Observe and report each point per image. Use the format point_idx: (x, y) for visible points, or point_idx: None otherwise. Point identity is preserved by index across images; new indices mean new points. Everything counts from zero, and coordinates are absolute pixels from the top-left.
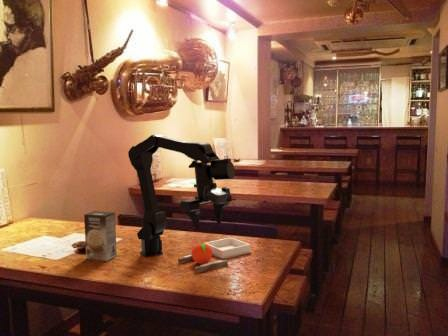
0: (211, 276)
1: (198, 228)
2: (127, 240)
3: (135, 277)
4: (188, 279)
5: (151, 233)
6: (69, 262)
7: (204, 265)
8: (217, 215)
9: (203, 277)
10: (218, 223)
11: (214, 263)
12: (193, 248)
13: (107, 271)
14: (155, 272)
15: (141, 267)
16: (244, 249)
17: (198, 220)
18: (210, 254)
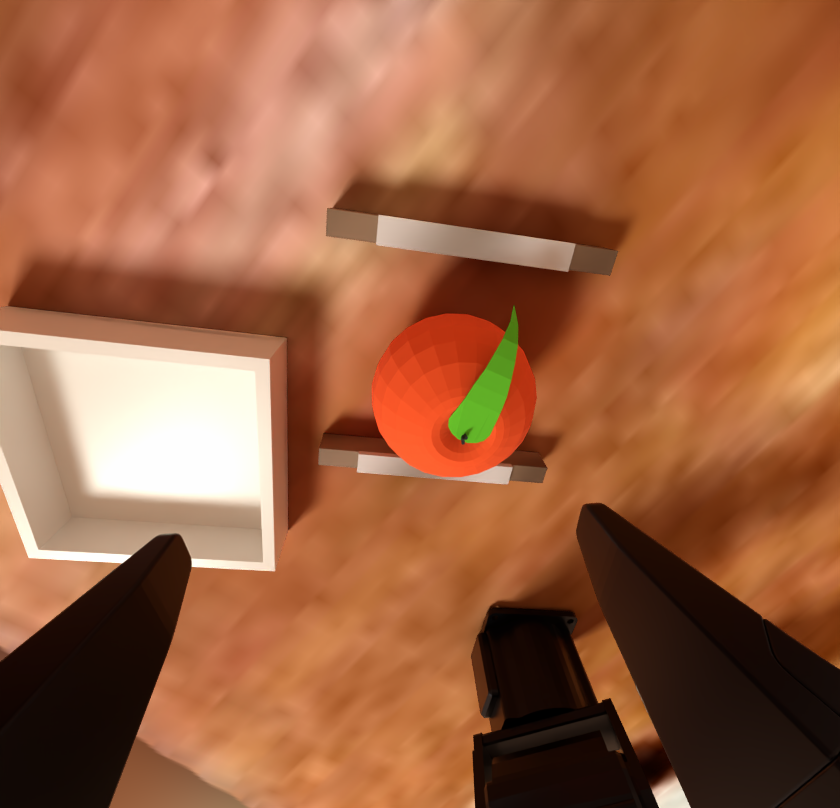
0: (591, 95)
1: (617, 514)
2: (470, 784)
3: (828, 435)
4: (725, 184)
5: (622, 743)
6: None
7: (550, 240)
8: (108, 707)
9: (640, 129)
10: (183, 554)
11: (459, 226)
12: (517, 447)
13: (809, 570)
14: (720, 428)
15: (694, 525)
16: (42, 322)
17: (725, 619)
18: (433, 321)
